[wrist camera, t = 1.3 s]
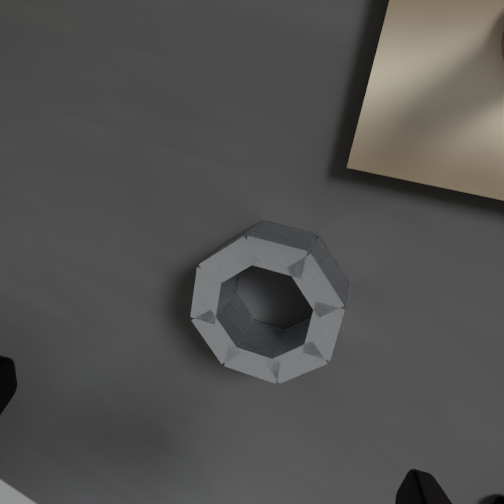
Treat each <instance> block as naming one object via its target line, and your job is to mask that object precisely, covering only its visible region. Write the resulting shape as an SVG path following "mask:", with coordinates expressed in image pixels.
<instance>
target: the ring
mask: <svg viewBox="0 0 504 504" xmlns="http://www.w3.org/2000/svg"><path fill="white" fill-rule="evenodd" d="M251 265H253V266H257V267H261V268H264V269H268V270H271V271H275V272H279V273H282V274H286V275H289V276H292V278H293V279H294V281H295V283H296V284H297V286H298V287H299V289H300V290H301V292H302V293H303V295H304V296H305V298H306V299H307V301H308V303H309V304H310V306H311V307H312V309H313V313H312V316H311V317H309V318H307V319H305V320H303V321H301V322H299V323H297V324H295V325H293V326H291V327H289V328H286V329H283V328H280V327H276V326H273V325H270V324H267V323H263V322H260V321H257V320H254V319H253V318H252V316H251V315H250V313H249V312H248V310H247V309H246V307H245V306H244V304H243V303H242V301H241V300H240V298H239V297H238V295H237V294H236V288H237V282H238V277H239V272H241V271H243V270H245V269H246V268H248V267H250V266H251ZM348 286H349V284H348V280H347V278H346V276H345V275H344V273H343V272H342V270H341V269H340V267H339V265H338V264H337V262H336V261H335V259H334V258H333V256H332V254H331V253H330V251H329V250H328V248H327V247H326V245H325V243H324V242H323V240H322V239H321V237H320V236H318V237H317V238H316V233H312V232H308V231H304V230H300V229H296V228H292V227H288V226H284V225H280V224H276V223H272V222H268V221H264V222H263V223H262V221H261V222H259V223H258V224H256V225H255V226H253V227H251V228H250V229H248V230H247V231H245V232H244V233H242V234H240V235H239V236H237V237H236V238H234V239H232V240H231V241H229V242H228V243H226V244H225V245H223V246H221V247H220V248H219V249H218V250H216V251H215V252H214V253H212V254H211V255H210V256H209V257H207V258H206V259H205V260H204V261H202V262H201V263H200V264H199V266H198V267H197V270H196V278H195V285H194V293H193V300H192V308H191V315H190V317H192V318H193V319H192V320H191V321H192V322H193V324H194V325H195V327H196V328H197V329H198V331H199V332H200V334H201V335H202V337H203V338H204V340H205V341H206V342H207V344H208V345H209V347H210V348H211V350H212V351H213V353H214V354H215V356H216V357H217V358H218V360H219V361H220V363H221V364H223V363H225V365H224V366H225V367H228V368H231V369H234V370H237V371H240V372H243V373H246V374H249V375H251V376H254V377H257V378H260V379H263V380H266V381H269V382H272V383H275V384H276V382H277V381H278V382H279V384H280V383H282V382H285V381H287V380H290V379H292V378H295V377H297V376H299V375H302V374H304V373H307V372H309V371H311V370H314V369H316V368H319V367H321V366H323V365H326V364H328V361H330V360H331V356H332V353H333V349H334V346H335V342H336V339H337V336H338V332H339V329H340V325H341V322H342V318H343V315H344V312H345V306H346V300H347V293H348Z"/></svg>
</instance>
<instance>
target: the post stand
mask: <svg viewBox="0 0 504 504" xmlns="http://www.w3.org/2000/svg"><path fill="white" fill-rule="evenodd" d="M347 168H350V169H355V170H360V171H365V172H369V173H374V174H379V175H384V176H389V177H393V178H398V179H403V180H408V181H412V182H417V183H422V184H427V185H432V186H436V187H441V188H446V189H451V190H455V191H460V192H465V193H470V194H475V195H479V196H484V197H489V198H494V199H499V200H503V201H504V0H389V4H388V8H387V12H386V16H385V19H384V23H383V27H382V31H381V35H380V39H379V43H378V47H377V51H376V55H375V59H374V62H373V66H372V70H371V74H370V78H369V82H368V86H367V90H366V94H365V98H364V102H363V105H362V109H361V113H360V117H359V121H358V125H357V129H356V133H355V137H354V141H353V145H352V148H351V152H350V156H349V160H348V164H347Z"/></svg>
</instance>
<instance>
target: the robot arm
mask: <svg viewBox="0 0 504 504" xmlns="http://www.w3.org/2000/svg"><path fill="white" fill-rule="evenodd" d="M16 388H17V379H16V371H15V364H14V361H13V360H12V359H11V358H8V357H4V356H1V355H0V415H1V413H2V412H3V410H4V409H5V407H6V406H7V404H8V403H9V401H10V400H11V398H12V397H13V395H14V393H15V391H16ZM395 504H452V503H451V501H450V500H449V498H448V497H447V496H446V494H445V493H444V491H443V490H442V488H441V487H440V485H439V484H438V482H437V481H436V479H435V478H434V477H433V476H432V475H431V474H429V473H427V472H423V471H419V470H416V469H411V470H409V472H408V473H407V475H406V477H405V479H404V480H403V482H402V484H401V486H400V488H399V489H398V491H397V494H396V501H395ZM493 504H504V497H499V498H497V499H496V500H495V501H494V503H493Z"/></svg>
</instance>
